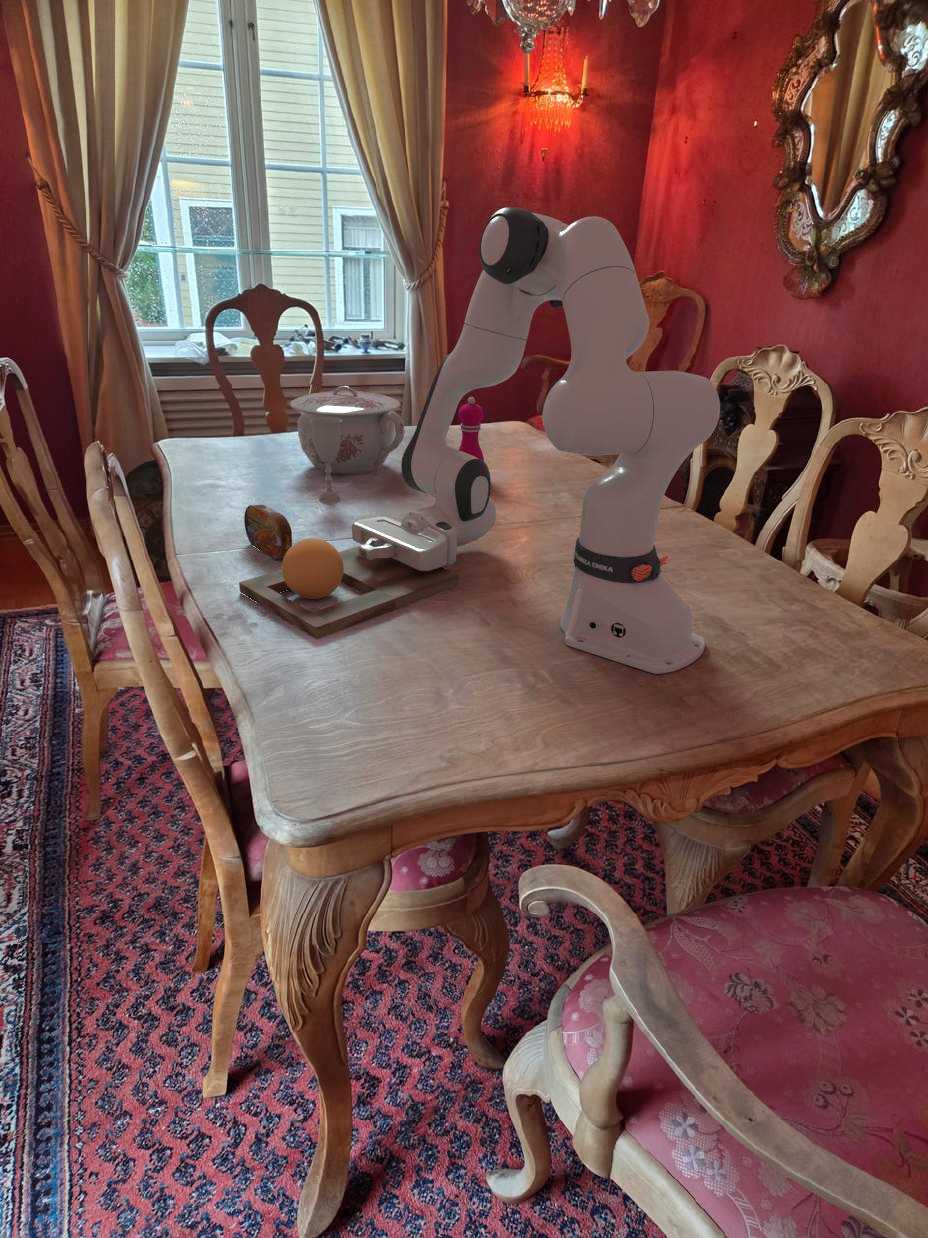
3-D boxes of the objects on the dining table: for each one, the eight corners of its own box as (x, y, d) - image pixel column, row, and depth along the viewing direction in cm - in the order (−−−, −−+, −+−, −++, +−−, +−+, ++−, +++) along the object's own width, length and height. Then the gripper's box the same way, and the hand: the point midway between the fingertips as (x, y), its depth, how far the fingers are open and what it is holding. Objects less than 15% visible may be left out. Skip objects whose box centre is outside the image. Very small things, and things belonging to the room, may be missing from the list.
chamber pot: (288, 457, 205) (282, 377, 196) (389, 452, 213) (387, 375, 204) (301, 487, 182) (294, 398, 172) (413, 480, 189) (413, 395, 180)
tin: (244, 541, 150) (240, 500, 146) (259, 538, 152) (255, 497, 148) (281, 565, 140) (277, 522, 136) (297, 561, 141) (293, 518, 138)
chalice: (307, 501, 173) (302, 420, 165) (326, 493, 178) (321, 415, 170) (333, 506, 170) (329, 425, 162) (351, 498, 175) (348, 419, 167)
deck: (458, 585, 134) (459, 574, 133) (316, 639, 115) (316, 627, 114) (378, 549, 148) (378, 540, 147) (240, 593, 128) (238, 582, 128)
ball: (303, 547, 118) (286, 605, 121) (360, 556, 124) (343, 611, 127) (282, 524, 125) (267, 580, 128) (337, 534, 131) (320, 586, 134)
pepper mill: (480, 483, 189) (483, 400, 180) (451, 480, 190) (453, 398, 181) (485, 475, 195) (488, 395, 186) (457, 472, 196) (459, 393, 187)
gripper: (386, 502, 144) (326, 520, 136) (462, 532, 131) (401, 553, 123) (387, 534, 147) (328, 552, 138) (461, 565, 134) (401, 588, 126)
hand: (363, 553), depth 130 cm, fingers closed
